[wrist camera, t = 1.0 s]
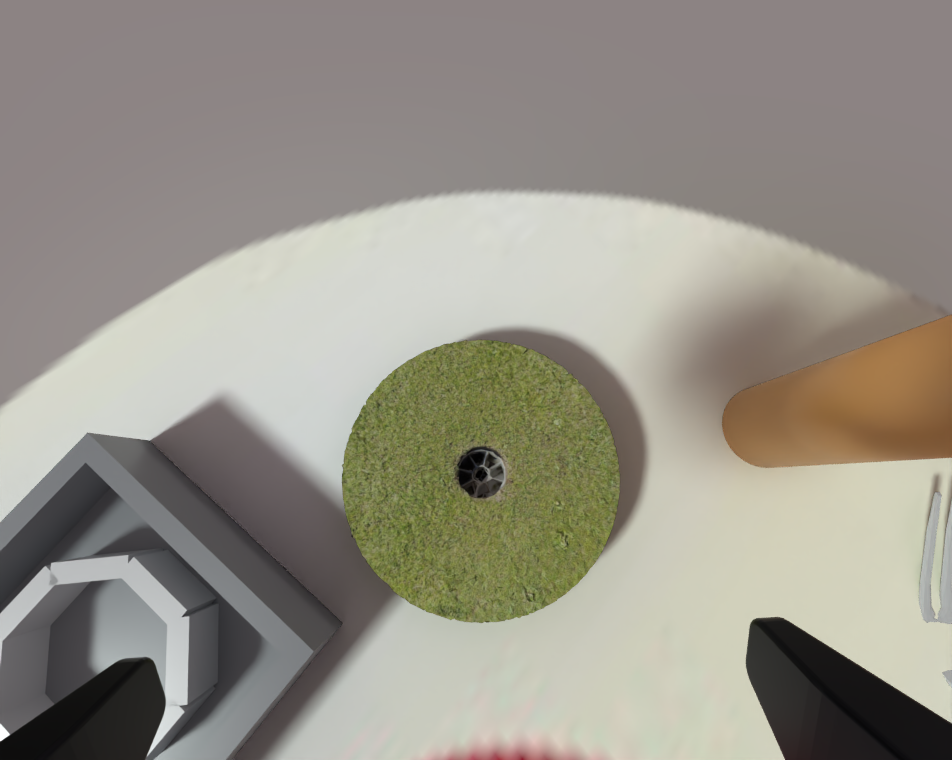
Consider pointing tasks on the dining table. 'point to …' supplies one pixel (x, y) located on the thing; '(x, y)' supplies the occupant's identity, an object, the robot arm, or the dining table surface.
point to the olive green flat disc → (480, 481)
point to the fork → (948, 595)
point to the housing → (148, 599)
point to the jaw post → (852, 406)
